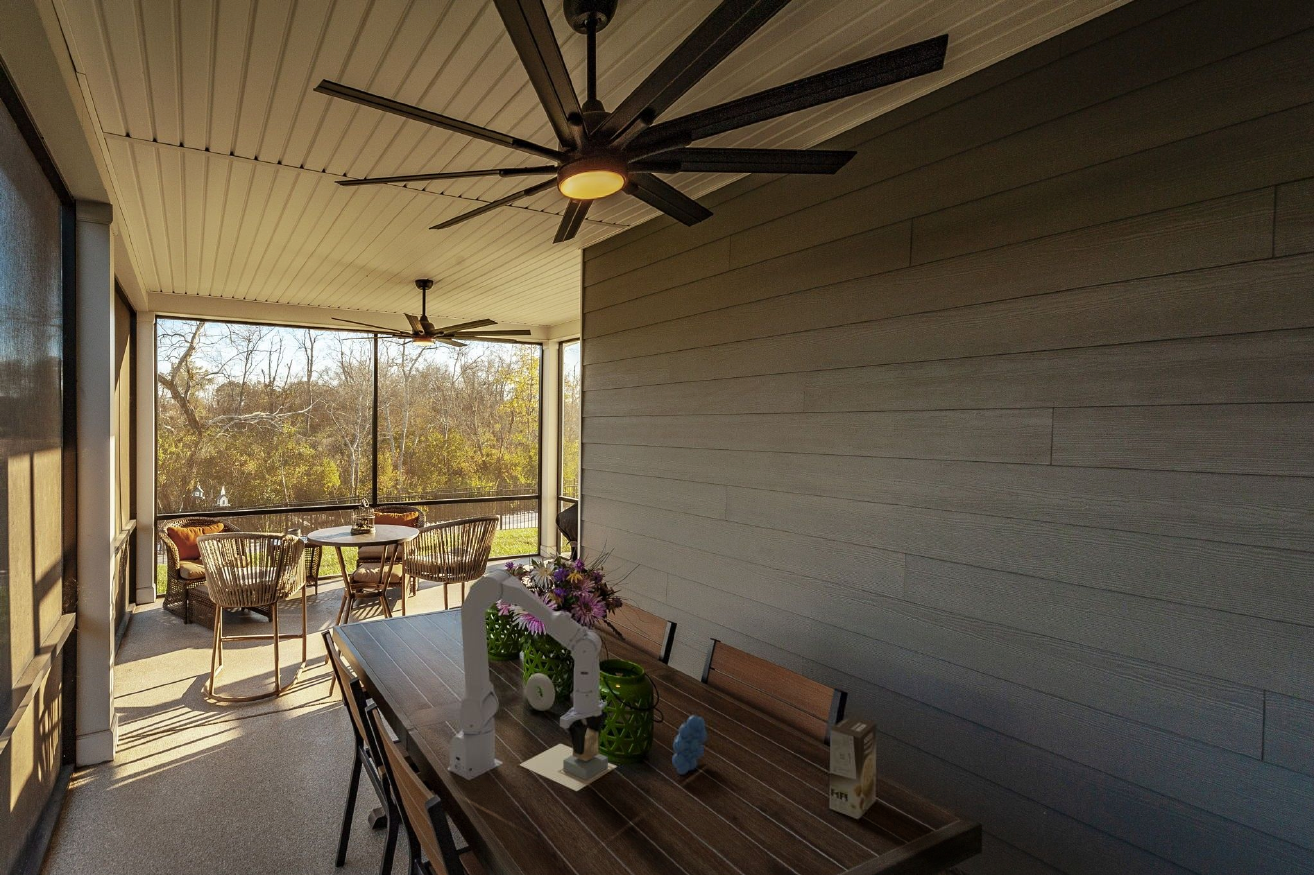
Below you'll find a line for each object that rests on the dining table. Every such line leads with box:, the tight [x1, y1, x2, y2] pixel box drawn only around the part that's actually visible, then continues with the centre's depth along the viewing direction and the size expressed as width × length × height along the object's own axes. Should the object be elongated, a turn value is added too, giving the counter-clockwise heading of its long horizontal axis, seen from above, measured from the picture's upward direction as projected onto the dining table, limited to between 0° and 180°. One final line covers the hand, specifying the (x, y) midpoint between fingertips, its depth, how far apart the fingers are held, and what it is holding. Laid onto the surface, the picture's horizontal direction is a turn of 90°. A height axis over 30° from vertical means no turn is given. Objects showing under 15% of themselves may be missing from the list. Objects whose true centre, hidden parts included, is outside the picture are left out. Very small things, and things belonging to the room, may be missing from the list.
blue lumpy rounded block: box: [671, 714, 708, 776], centre depth 144 cm, size 12×7×12 cm, turn 141°
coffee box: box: [829, 715, 877, 820], centre depth 130 cm, size 9×6×16 cm
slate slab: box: [563, 753, 609, 781], centre depth 142 cm, size 7×7×2 cm
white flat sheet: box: [519, 743, 618, 792], centre depth 143 cm, size 13×18×1 cm
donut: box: [525, 672, 556, 712], centre depth 175 cm, size 10×3×10 cm, turn 55°
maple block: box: [572, 728, 599, 761], centre depth 142 cm, size 4×4×5 cm
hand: (585, 749), depth 142 cm, fingers open, 4 cm apart
